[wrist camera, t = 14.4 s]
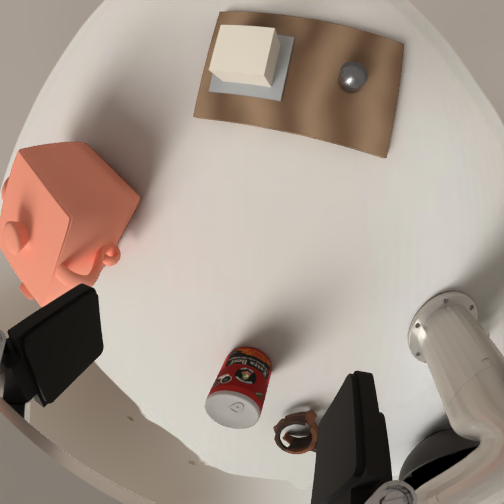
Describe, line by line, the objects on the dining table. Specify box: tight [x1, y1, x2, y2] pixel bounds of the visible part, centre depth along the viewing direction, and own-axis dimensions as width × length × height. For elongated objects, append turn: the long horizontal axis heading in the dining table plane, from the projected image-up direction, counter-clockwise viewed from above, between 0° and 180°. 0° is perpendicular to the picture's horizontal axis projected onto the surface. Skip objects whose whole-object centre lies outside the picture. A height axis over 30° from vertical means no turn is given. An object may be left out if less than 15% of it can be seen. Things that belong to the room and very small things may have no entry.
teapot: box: [0, 142, 140, 307], centre depth 34 cm, size 25×23×18 cm
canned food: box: [205, 347, 272, 429], centre depth 39 cm, size 8×8×11 cm
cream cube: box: [209, 25, 280, 87], centre depth 26 cm, size 6×6×5 cm
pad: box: [209, 35, 294, 101], centre depth 29 cm, size 9×9×1 cm
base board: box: [193, 12, 404, 158], centre depth 29 cm, size 24×16×2 cm, turn 78°
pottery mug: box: [273, 410, 318, 454], centre depth 44 cm, size 12×10×8 cm
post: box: [338, 61, 368, 93], centre depth 26 cm, size 3×3×4 cm
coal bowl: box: [399, 429, 480, 491], centre depth 34 cm, size 20×20×19 cm
